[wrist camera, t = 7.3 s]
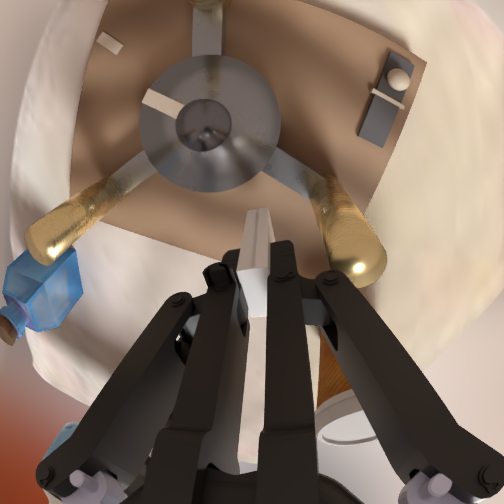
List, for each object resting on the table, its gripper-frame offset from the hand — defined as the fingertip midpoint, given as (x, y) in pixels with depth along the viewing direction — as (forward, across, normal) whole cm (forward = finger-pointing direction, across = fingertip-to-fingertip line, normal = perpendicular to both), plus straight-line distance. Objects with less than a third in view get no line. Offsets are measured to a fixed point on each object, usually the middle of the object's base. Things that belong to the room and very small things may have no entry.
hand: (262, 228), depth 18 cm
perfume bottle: (+6, -25, -3) cm, 26 cm away
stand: (+5, -2, +7) cm, 9 cm away
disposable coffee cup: (+5, +6, -16) cm, 18 cm away
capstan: (+3, 0, +5) cm, 6 cm away
